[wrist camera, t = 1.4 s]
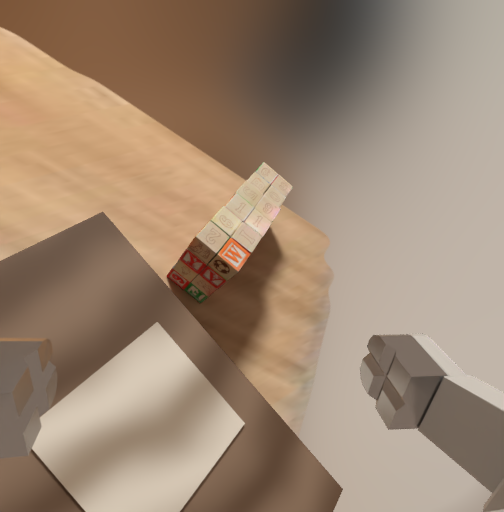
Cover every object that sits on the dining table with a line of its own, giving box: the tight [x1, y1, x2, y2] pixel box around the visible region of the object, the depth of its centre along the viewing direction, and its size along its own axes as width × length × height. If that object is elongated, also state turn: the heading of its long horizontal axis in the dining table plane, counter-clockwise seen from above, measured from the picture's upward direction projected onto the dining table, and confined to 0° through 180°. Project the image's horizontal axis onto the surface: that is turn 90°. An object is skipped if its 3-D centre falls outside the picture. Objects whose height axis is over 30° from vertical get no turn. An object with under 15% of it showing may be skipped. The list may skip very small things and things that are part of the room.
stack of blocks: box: [167, 162, 293, 303], centre depth 48 cm, size 21×6×12 cm, turn 149°
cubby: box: [0, 212, 343, 512], centre depth 28 cm, size 29×15×18 cm, turn 48°
